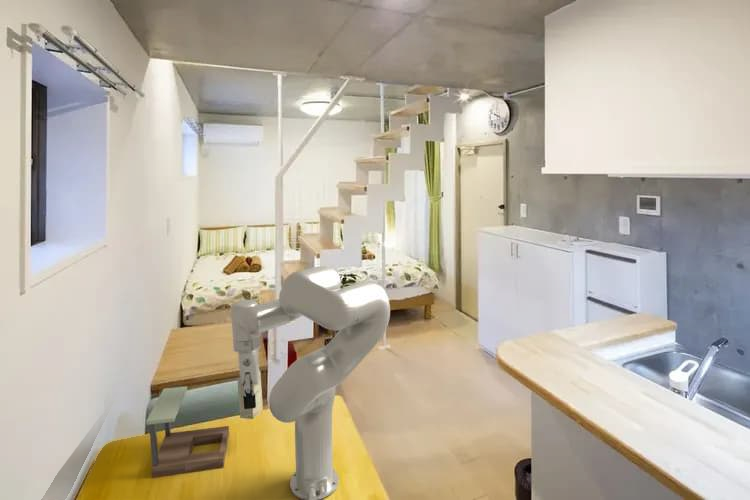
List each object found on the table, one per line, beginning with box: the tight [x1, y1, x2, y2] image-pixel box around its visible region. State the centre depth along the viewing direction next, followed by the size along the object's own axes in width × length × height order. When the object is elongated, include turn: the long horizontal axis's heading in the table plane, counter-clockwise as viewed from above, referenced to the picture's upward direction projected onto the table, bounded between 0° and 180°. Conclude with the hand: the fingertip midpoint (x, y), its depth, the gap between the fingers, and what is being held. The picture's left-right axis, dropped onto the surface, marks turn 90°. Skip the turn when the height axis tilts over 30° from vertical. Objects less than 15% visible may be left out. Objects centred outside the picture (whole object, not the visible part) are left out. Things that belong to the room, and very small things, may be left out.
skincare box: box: [236, 370, 264, 420], centre depth 122 cm, size 6×4×12 cm
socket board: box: [145, 386, 230, 479], centre depth 119 cm, size 18×18×17 cm
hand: (250, 401), depth 122 cm, fingers closed on skincare box, 7 cm apart
